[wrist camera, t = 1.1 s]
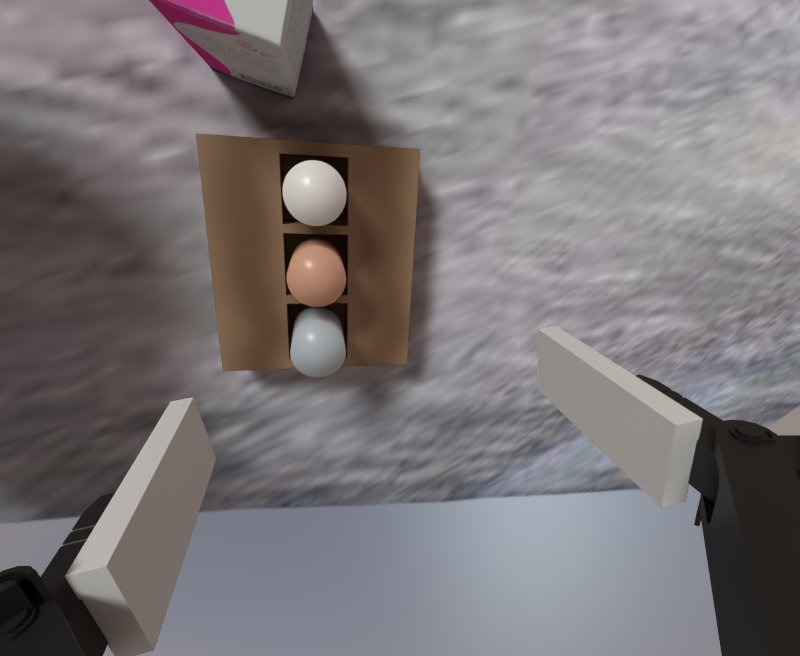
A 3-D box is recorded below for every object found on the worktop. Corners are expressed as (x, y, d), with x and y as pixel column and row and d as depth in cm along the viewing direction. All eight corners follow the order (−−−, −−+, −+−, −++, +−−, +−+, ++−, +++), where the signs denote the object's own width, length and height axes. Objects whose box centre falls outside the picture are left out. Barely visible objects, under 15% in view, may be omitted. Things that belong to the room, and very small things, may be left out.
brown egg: (292, 287, 30) (287, 307, 25) (289, 237, 28) (285, 249, 24) (341, 287, 30) (346, 306, 26) (341, 238, 29) (346, 250, 25)
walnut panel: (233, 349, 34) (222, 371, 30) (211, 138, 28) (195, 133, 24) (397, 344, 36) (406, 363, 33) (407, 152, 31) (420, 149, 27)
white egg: (289, 217, 28) (284, 225, 23) (286, 160, 27) (280, 158, 22) (341, 218, 29) (346, 226, 24) (341, 163, 27) (346, 162, 23)
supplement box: (315, 4, 27) (314, -106, 16) (295, 101, 28) (282, 58, 18) (222, -37, 25) (153, -190, 14) (206, 68, 27) (135, -1, 16)
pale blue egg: (294, 349, 31) (291, 378, 27) (292, 305, 30) (288, 328, 26) (341, 348, 32) (345, 376, 28) (341, 305, 31) (346, 327, 26)
